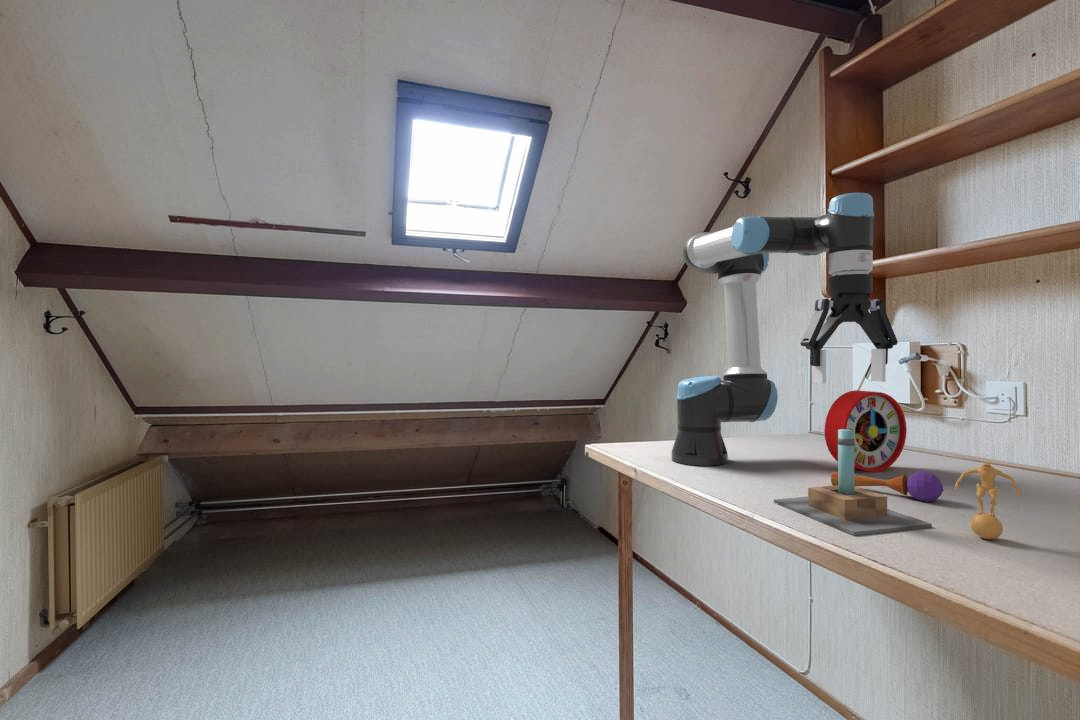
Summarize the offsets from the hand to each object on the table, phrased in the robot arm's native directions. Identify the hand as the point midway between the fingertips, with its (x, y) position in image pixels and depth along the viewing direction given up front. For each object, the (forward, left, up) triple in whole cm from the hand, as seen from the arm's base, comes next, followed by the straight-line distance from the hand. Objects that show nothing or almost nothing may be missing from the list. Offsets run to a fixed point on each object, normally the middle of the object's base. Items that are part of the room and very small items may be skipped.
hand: (849, 382), depth 105 cm
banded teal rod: (+6, -6, -24) cm, 25 cm away
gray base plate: (+6, -6, -24) cm, 25 cm away
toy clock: (-23, +27, -24) cm, 43 cm away
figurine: (+22, +6, -24) cm, 33 cm away
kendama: (-4, +13, -25) cm, 28 cm away
